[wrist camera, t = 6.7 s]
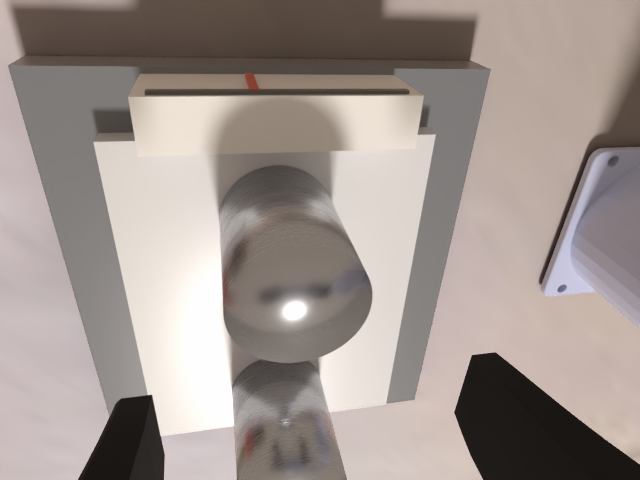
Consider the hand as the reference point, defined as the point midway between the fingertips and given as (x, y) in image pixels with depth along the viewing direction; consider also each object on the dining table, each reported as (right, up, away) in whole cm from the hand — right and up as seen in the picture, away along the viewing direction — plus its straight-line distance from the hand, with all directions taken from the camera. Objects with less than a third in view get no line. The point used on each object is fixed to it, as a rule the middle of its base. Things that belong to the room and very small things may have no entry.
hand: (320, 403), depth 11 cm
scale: (-2, +3, +10) cm, 10 cm away
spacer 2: (-2, -3, +11) cm, 11 cm away
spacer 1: (-2, +4, +6) cm, 8 cm away
